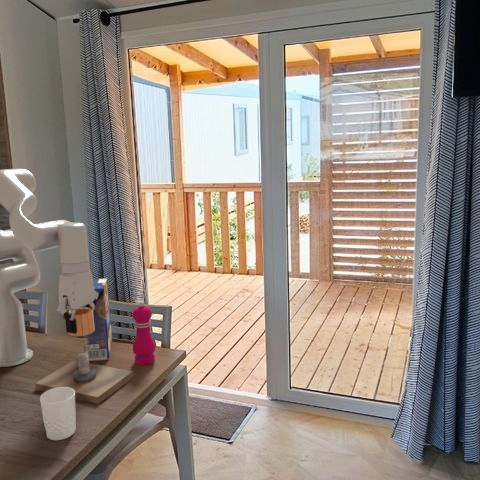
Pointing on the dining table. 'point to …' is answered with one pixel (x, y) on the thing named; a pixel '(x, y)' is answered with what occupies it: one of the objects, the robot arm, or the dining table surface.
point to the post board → (90, 387)
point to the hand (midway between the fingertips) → (81, 327)
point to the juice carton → (100, 325)
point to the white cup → (59, 412)
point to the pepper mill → (143, 336)
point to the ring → (84, 321)
